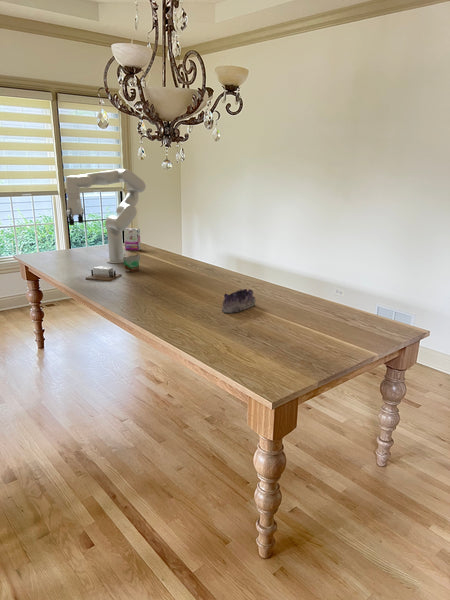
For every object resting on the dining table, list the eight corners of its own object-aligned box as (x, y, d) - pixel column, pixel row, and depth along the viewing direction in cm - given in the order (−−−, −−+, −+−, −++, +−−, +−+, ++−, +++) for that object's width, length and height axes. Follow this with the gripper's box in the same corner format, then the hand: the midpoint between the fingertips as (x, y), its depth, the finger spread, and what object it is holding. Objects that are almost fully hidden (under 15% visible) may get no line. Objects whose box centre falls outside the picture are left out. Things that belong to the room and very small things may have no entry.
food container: (130, 273, 271) (129, 258, 268) (123, 272, 275) (122, 256, 272) (144, 270, 281) (144, 254, 277) (138, 268, 284) (137, 253, 281)
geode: (236, 317, 202) (234, 296, 199) (217, 315, 209) (214, 294, 206) (260, 304, 217) (258, 285, 214) (241, 302, 224) (239, 284, 221)
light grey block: (98, 274, 265) (98, 266, 264) (113, 275, 263) (112, 267, 261) (94, 276, 261) (93, 267, 259) (109, 277, 258) (108, 269, 257)
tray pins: (95, 273, 266) (94, 268, 264) (116, 275, 262) (115, 270, 261) (91, 275, 261) (90, 270, 260) (112, 277, 258) (112, 272, 257)
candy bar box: (140, 249, 342) (139, 228, 337) (138, 250, 338) (137, 229, 332) (127, 248, 344) (126, 227, 339) (125, 249, 339) (123, 228, 334)
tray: (98, 273, 270) (98, 271, 270) (121, 275, 266) (121, 274, 266) (85, 279, 258) (85, 277, 257) (109, 281, 254) (109, 279, 253)
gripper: (76, 195, 280) (79, 221, 286) (60, 197, 264) (63, 225, 270) (87, 195, 278) (89, 222, 284) (70, 197, 263) (73, 226, 268)
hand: (76, 223), depth 277 cm, fingers open, 9 cm apart
